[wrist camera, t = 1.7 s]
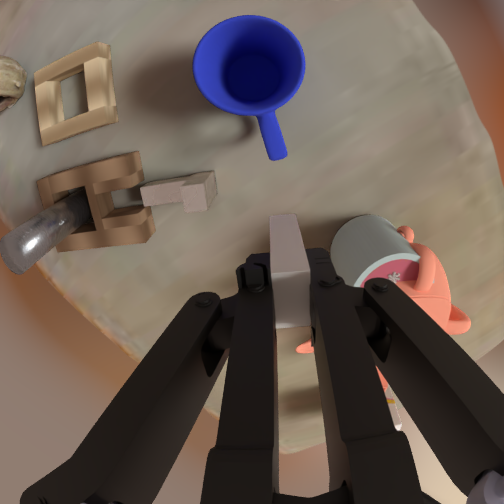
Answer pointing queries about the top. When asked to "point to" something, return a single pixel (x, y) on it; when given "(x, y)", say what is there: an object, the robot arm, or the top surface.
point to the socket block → (102, 202)
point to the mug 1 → (251, 72)
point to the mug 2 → (372, 252)
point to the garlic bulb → (11, 82)
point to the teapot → (425, 295)
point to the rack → (97, 87)
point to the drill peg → (44, 231)
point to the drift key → (182, 191)
